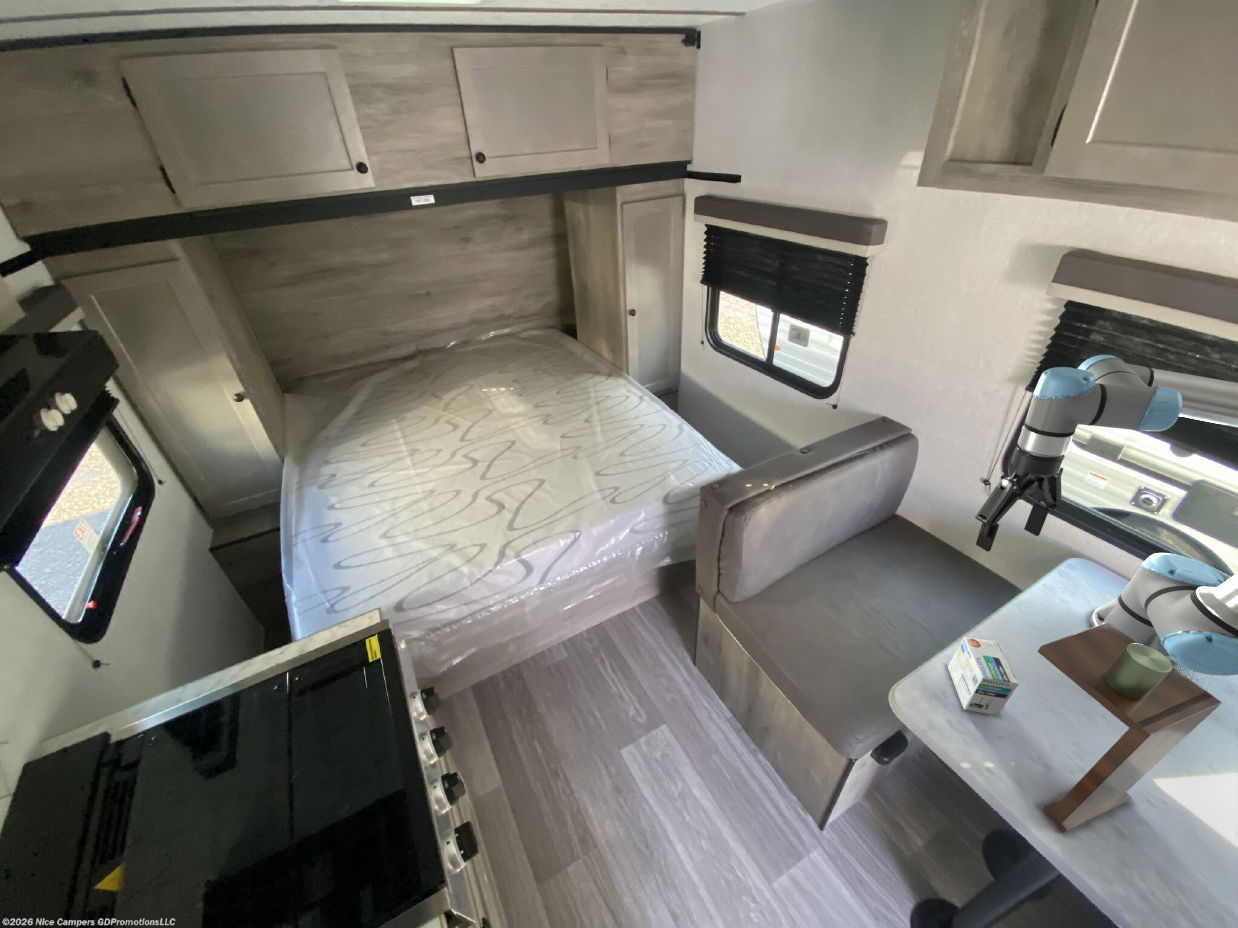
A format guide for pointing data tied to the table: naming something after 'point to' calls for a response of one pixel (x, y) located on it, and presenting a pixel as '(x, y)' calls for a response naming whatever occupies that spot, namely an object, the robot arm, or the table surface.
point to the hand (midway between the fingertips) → (1007, 540)
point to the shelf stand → (1124, 714)
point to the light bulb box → (982, 676)
